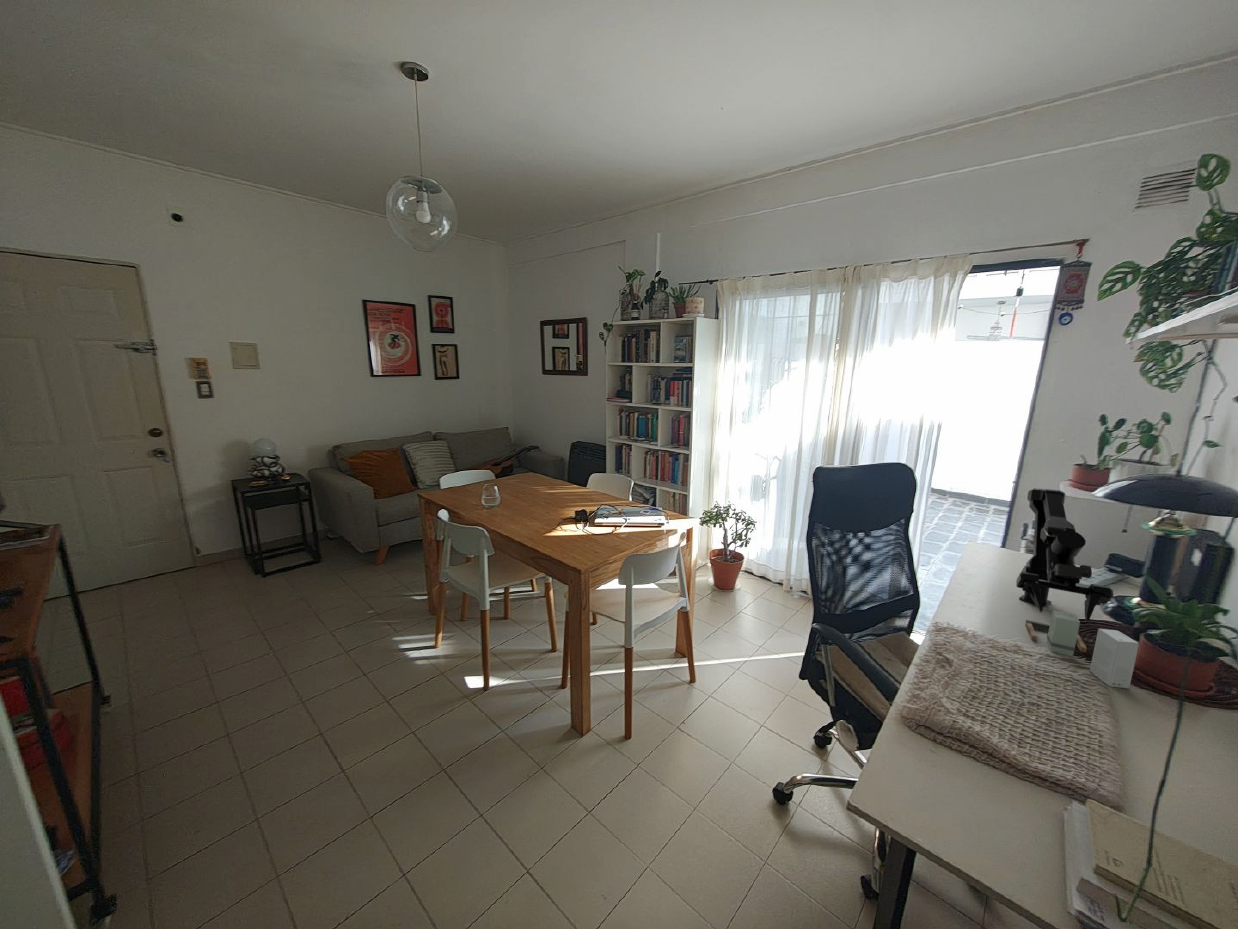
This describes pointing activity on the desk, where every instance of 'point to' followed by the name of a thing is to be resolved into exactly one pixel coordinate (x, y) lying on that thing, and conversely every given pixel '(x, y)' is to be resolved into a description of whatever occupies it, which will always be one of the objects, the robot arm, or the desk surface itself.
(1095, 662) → the skincare box
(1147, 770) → the desk surface
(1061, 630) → the block
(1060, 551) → the robot arm
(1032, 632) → the walnut guide
